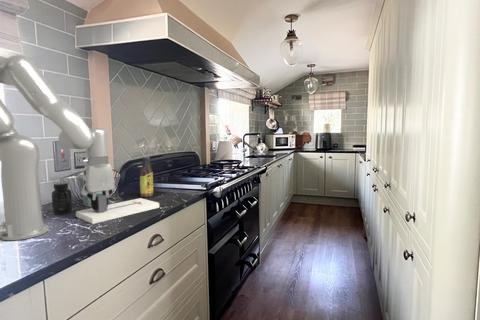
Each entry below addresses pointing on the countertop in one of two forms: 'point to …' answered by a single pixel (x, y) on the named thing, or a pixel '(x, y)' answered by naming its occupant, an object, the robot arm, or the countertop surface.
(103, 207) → the fader tab
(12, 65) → the robot arm
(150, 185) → the sauce bottle
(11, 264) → the countertop surface
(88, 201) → the disposable coffee cup
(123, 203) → the board
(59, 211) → the supplement bottle
